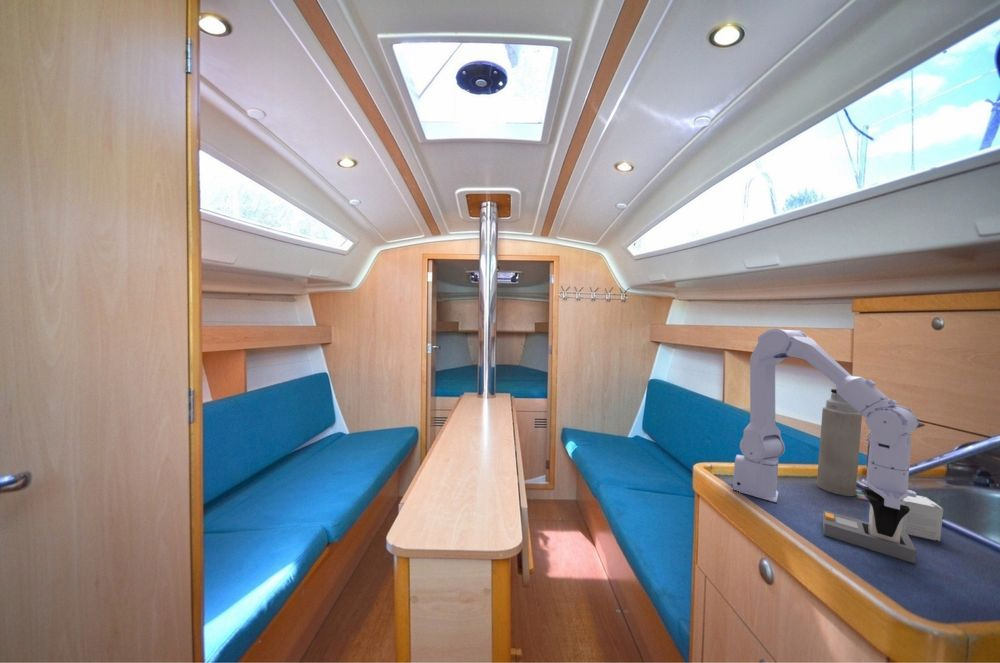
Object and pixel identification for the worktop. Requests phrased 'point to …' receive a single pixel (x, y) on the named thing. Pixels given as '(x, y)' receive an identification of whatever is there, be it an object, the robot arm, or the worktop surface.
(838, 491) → the thermos bottle
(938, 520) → the skincare box
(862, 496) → the smartphone
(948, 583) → the worktop surface
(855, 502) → the worktop surface
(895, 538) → the light grey rectangular block
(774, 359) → the robot arm
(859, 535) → the sliding tray box
